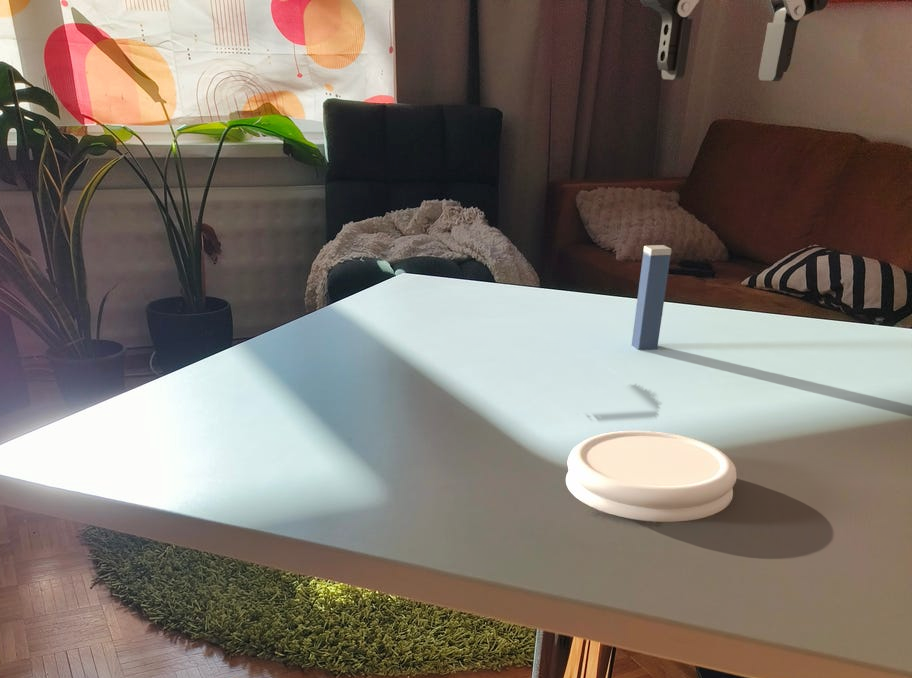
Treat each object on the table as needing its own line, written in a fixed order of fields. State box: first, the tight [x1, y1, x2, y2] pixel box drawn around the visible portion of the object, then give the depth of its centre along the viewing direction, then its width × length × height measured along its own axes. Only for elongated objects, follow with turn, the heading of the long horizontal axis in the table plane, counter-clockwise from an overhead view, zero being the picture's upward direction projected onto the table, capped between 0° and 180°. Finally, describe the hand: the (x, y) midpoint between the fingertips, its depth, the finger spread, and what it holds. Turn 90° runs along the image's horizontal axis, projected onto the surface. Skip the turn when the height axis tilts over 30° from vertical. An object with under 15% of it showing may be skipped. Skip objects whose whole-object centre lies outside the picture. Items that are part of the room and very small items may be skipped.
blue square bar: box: [631, 244, 672, 351], centre depth 78 cm, size 2×2×10 cm
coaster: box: [565, 430, 738, 523], centre depth 54 cm, size 10×10×4 cm
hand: (721, 80), depth 68 cm, fingers open, 8 cm apart
